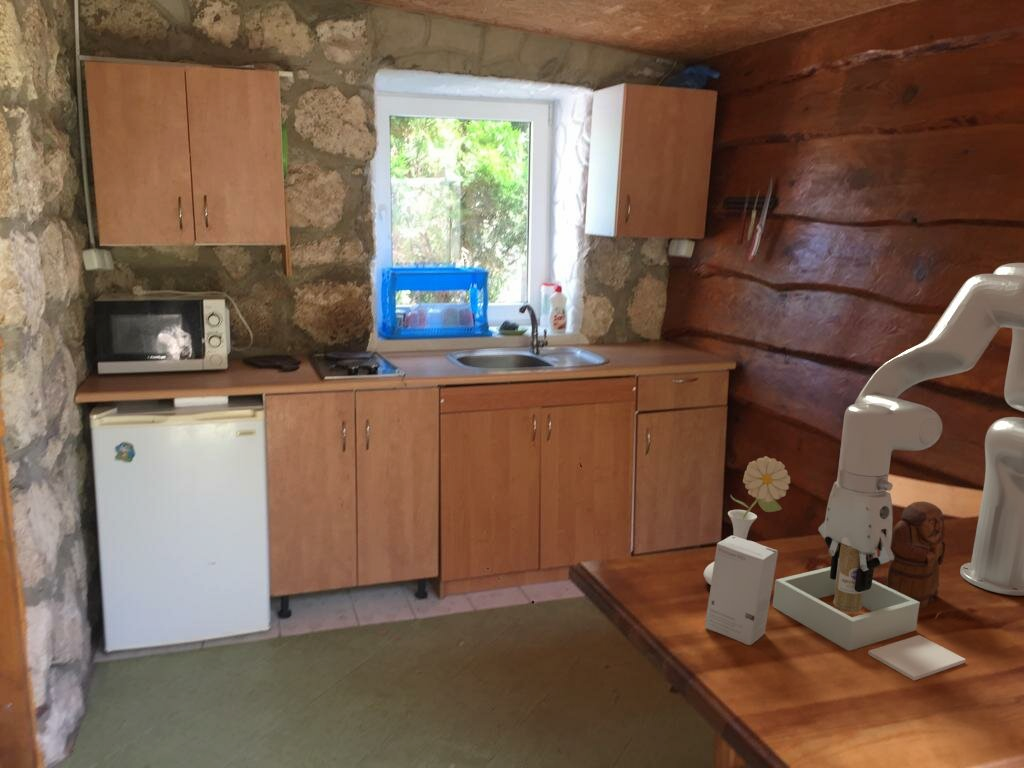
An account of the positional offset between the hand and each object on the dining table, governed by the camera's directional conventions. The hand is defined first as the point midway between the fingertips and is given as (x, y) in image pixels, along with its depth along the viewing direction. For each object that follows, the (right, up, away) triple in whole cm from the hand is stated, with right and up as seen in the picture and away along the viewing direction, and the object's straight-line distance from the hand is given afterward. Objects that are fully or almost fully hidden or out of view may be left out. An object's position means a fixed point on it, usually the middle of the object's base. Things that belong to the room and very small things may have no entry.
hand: (850, 582), depth 139 cm
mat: (+6, -9, -11) cm, 15 cm away
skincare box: (-20, -7, -5) cm, 22 cm away
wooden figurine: (+15, -5, +10) cm, 19 cm away
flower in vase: (-16, -4, +11) cm, 19 cm away
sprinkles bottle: (0, -4, +1) cm, 5 cm away
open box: (-1, -6, +1) cm, 6 cm away
